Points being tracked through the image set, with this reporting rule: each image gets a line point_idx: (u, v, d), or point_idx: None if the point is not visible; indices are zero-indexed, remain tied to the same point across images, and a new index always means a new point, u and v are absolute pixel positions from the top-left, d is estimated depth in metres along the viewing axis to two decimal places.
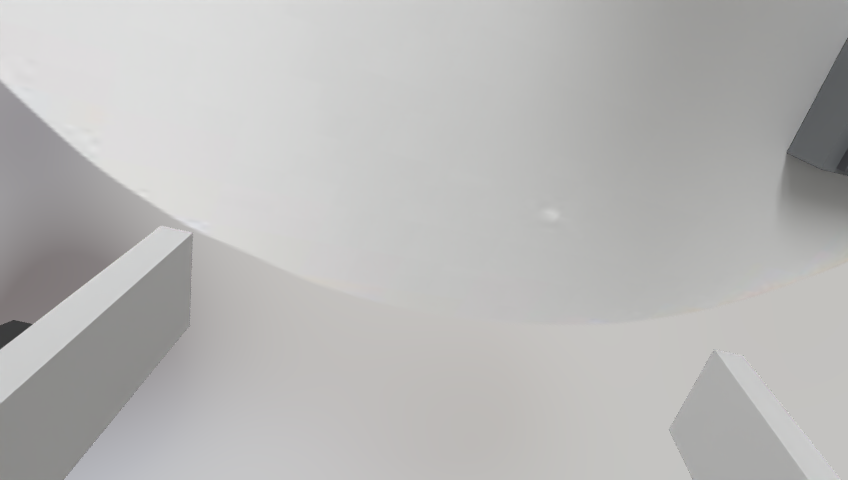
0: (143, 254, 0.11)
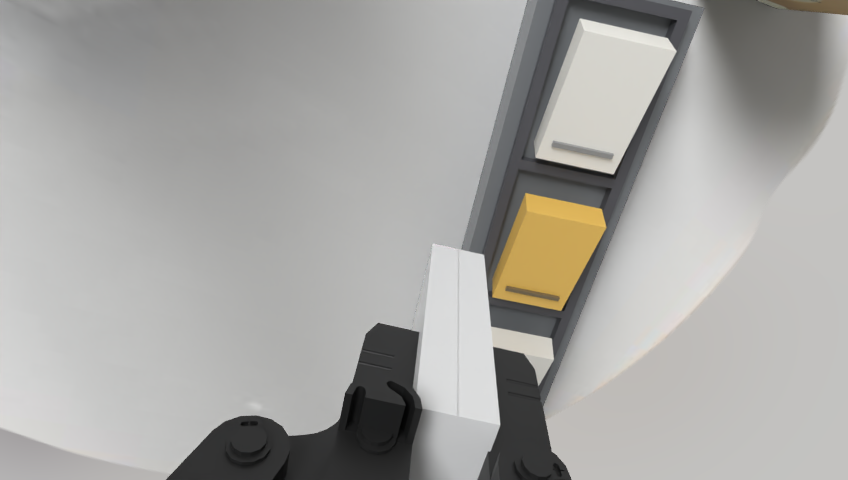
0: (442, 268, 0.14)
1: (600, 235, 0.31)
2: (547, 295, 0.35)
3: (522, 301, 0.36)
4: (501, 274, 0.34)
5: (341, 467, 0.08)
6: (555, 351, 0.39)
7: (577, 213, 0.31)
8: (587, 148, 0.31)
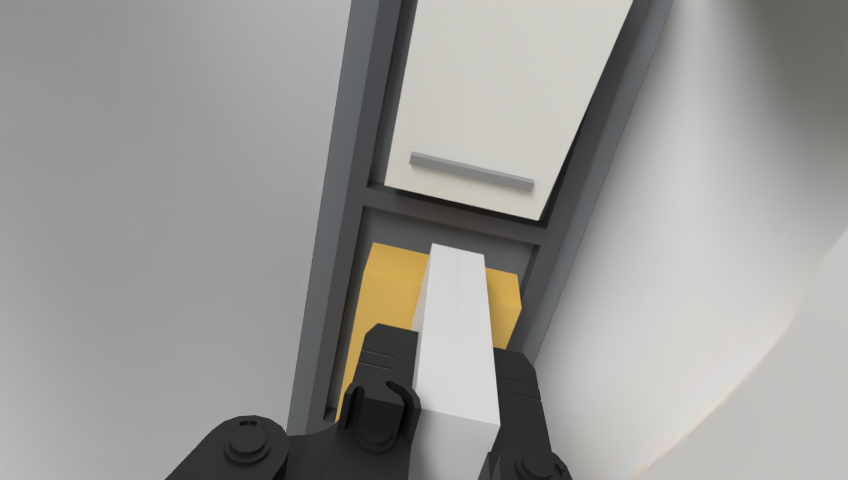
0: (441, 268, 0.14)
1: (512, 324, 0.16)
2: None
3: None
4: (340, 397, 0.18)
5: (340, 467, 0.08)
6: None
7: None
8: (482, 168, 0.15)
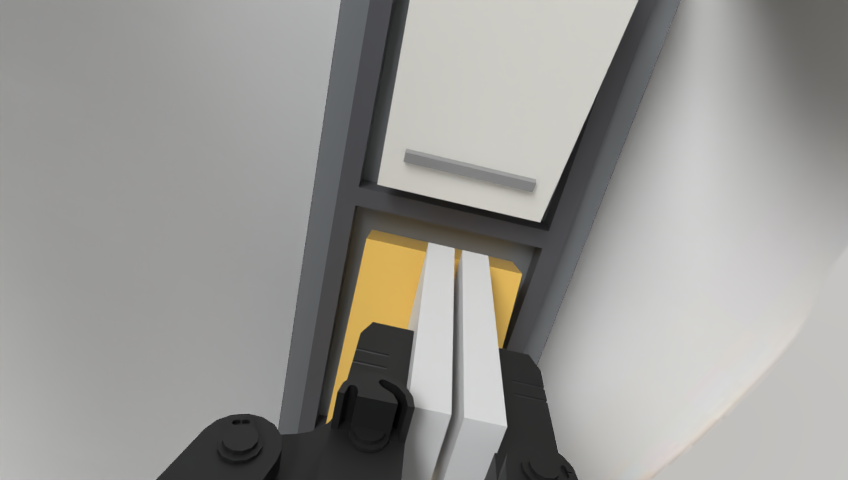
0: (438, 267, 0.14)
1: (513, 293, 0.16)
2: None
3: None
4: (331, 403, 0.17)
5: (333, 466, 0.08)
6: None
7: None
8: (481, 167, 0.14)
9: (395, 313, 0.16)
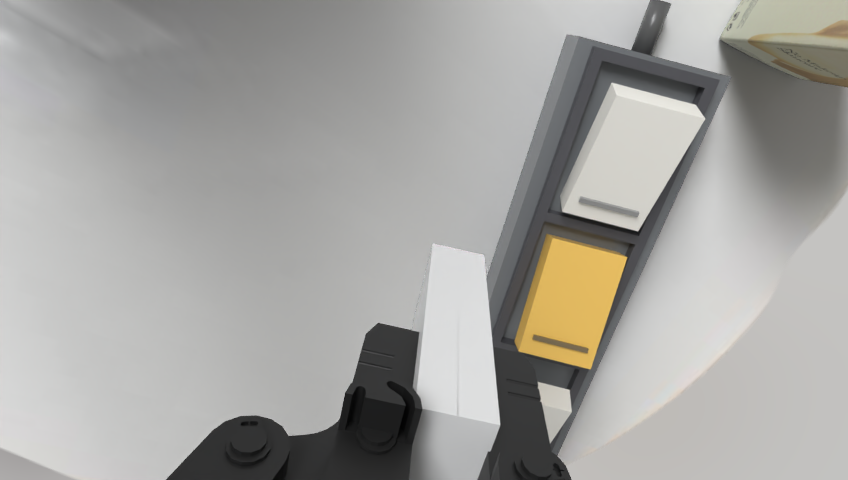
0: (442, 268, 0.14)
1: (622, 266, 0.33)
2: (575, 346, 0.34)
3: (550, 356, 0.34)
4: (528, 319, 0.34)
5: (341, 467, 0.08)
6: (572, 402, 0.39)
7: (597, 248, 0.33)
8: (614, 205, 0.31)
9: (564, 275, 0.33)
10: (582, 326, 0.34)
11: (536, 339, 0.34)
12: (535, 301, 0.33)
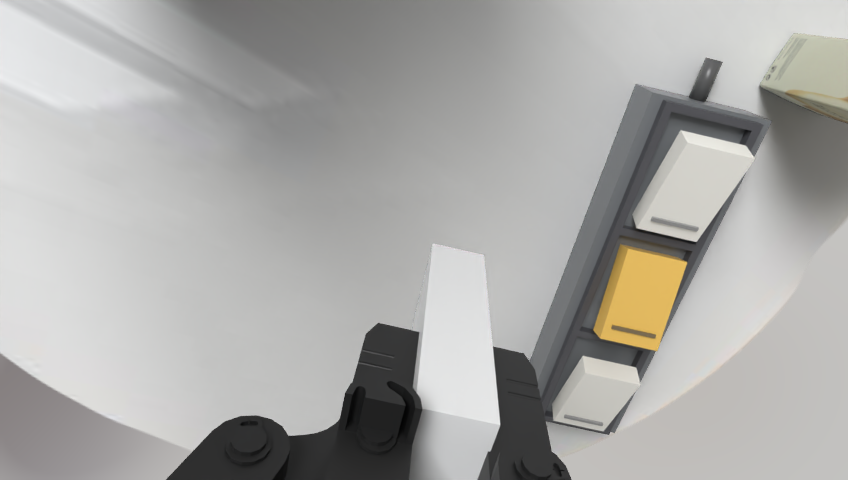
0: (442, 268, 0.14)
1: (683, 269, 0.41)
2: (645, 333, 0.42)
3: (625, 342, 0.43)
4: (607, 313, 0.42)
5: (341, 467, 0.08)
6: None
7: (662, 255, 0.42)
8: (678, 222, 0.40)
9: (636, 277, 0.42)
10: (651, 317, 0.42)
11: (614, 328, 0.42)
12: (613, 298, 0.42)
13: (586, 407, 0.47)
